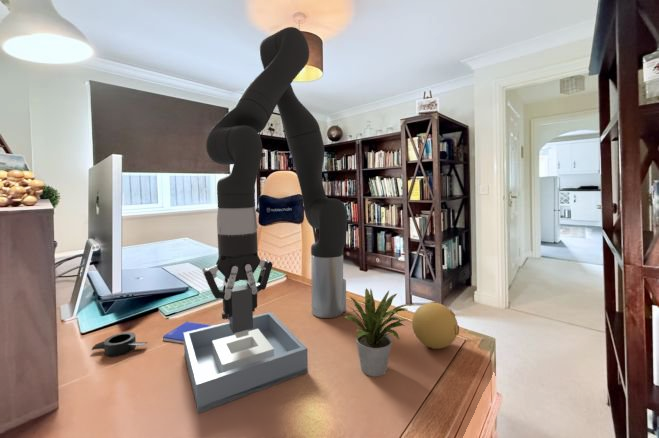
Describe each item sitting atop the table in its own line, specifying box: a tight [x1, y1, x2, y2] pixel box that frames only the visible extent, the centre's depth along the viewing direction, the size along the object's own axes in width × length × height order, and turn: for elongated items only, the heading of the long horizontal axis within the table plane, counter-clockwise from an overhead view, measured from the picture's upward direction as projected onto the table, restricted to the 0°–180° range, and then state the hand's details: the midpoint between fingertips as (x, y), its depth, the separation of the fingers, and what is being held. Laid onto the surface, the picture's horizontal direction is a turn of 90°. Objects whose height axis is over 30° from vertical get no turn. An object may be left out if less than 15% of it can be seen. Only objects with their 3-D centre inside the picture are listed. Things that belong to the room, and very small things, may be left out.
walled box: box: [183, 311, 309, 414], centre depth 61 cm, size 20×20×5 cm
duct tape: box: [91, 331, 149, 358], centre depth 66 cm, size 8×10×3 cm
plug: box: [228, 283, 254, 338], centre depth 60 cm, size 4×3×10 cm
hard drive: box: [162, 321, 213, 344], centre depth 73 cm, size 2×8×12 cm
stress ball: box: [411, 302, 460, 350], centre depth 67 cm, size 10×10×10 cm
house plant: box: [344, 287, 414, 377], centre depth 57 cm, size 14×14×16 cm
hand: (240, 312), depth 60 cm, fingers closed on plug, 4 cm apart
